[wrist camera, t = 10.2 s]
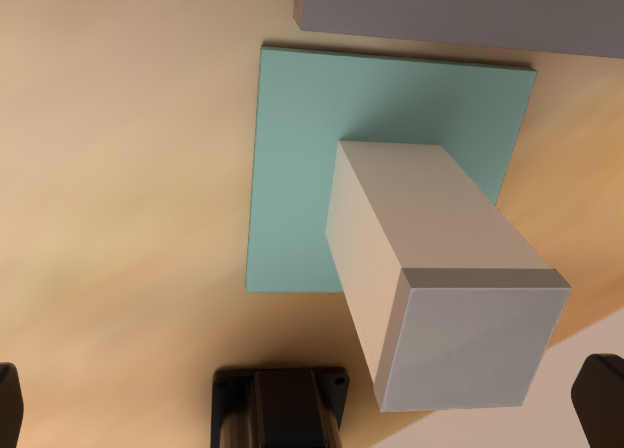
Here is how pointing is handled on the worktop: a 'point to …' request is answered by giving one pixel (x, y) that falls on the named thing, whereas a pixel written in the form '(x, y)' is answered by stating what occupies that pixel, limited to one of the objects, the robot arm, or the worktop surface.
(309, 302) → the worktop surface
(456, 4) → the grey panel
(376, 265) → the beige grey rectangular block
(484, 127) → the teal mat
